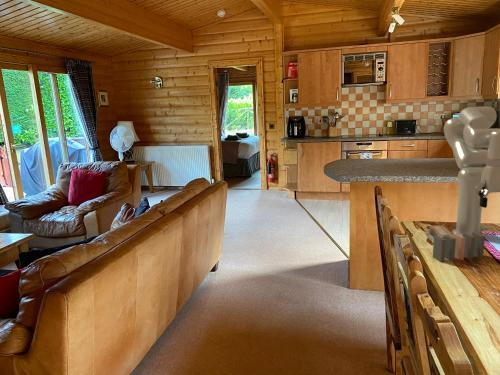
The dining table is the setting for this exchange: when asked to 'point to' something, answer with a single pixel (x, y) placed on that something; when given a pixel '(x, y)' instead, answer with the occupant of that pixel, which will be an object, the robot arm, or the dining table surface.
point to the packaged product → (437, 232)
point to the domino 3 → (459, 246)
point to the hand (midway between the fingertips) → (494, 205)
